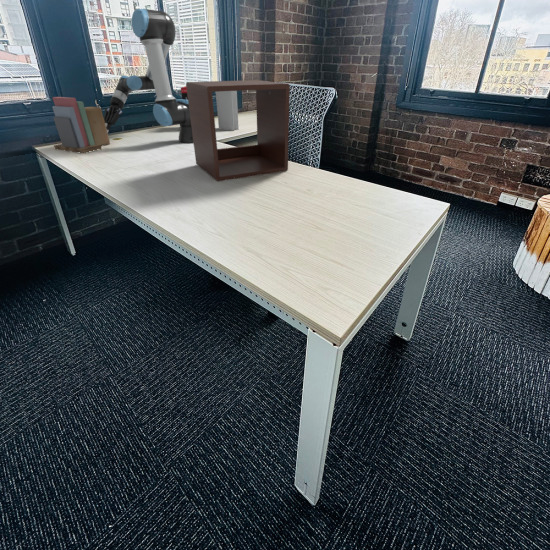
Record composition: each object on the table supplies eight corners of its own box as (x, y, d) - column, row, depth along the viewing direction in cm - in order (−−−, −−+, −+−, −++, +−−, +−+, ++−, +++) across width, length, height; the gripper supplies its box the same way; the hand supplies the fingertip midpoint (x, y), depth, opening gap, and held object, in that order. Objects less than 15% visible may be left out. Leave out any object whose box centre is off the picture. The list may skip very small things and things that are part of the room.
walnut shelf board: (101, 148, 190) (100, 145, 189) (83, 153, 181) (82, 149, 180) (73, 145, 199) (72, 141, 198) (54, 149, 190) (53, 145, 189)
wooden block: (94, 147, 193) (83, 109, 182) (86, 144, 199) (75, 107, 188) (111, 144, 200) (101, 107, 189) (103, 142, 205) (93, 106, 194)
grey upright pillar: (238, 129, 241) (236, 82, 225) (234, 130, 237) (231, 82, 221) (223, 127, 248) (220, 81, 231) (218, 129, 244) (214, 81, 227)
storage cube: (216, 181, 140) (206, 86, 121) (196, 165, 161) (185, 82, 142) (287, 170, 153) (289, 83, 134) (260, 156, 175) (259, 80, 156)
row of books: (95, 144, 190) (81, 97, 177) (79, 148, 183) (63, 99, 169) (77, 142, 196) (62, 96, 183) (61, 145, 188) (44, 98, 175)
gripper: (130, 105, 207) (116, 138, 204) (115, 104, 212) (101, 136, 209) (121, 96, 200) (106, 130, 197) (106, 95, 205) (91, 129, 202)
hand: (104, 133), depth 203 cm, fingers closed
